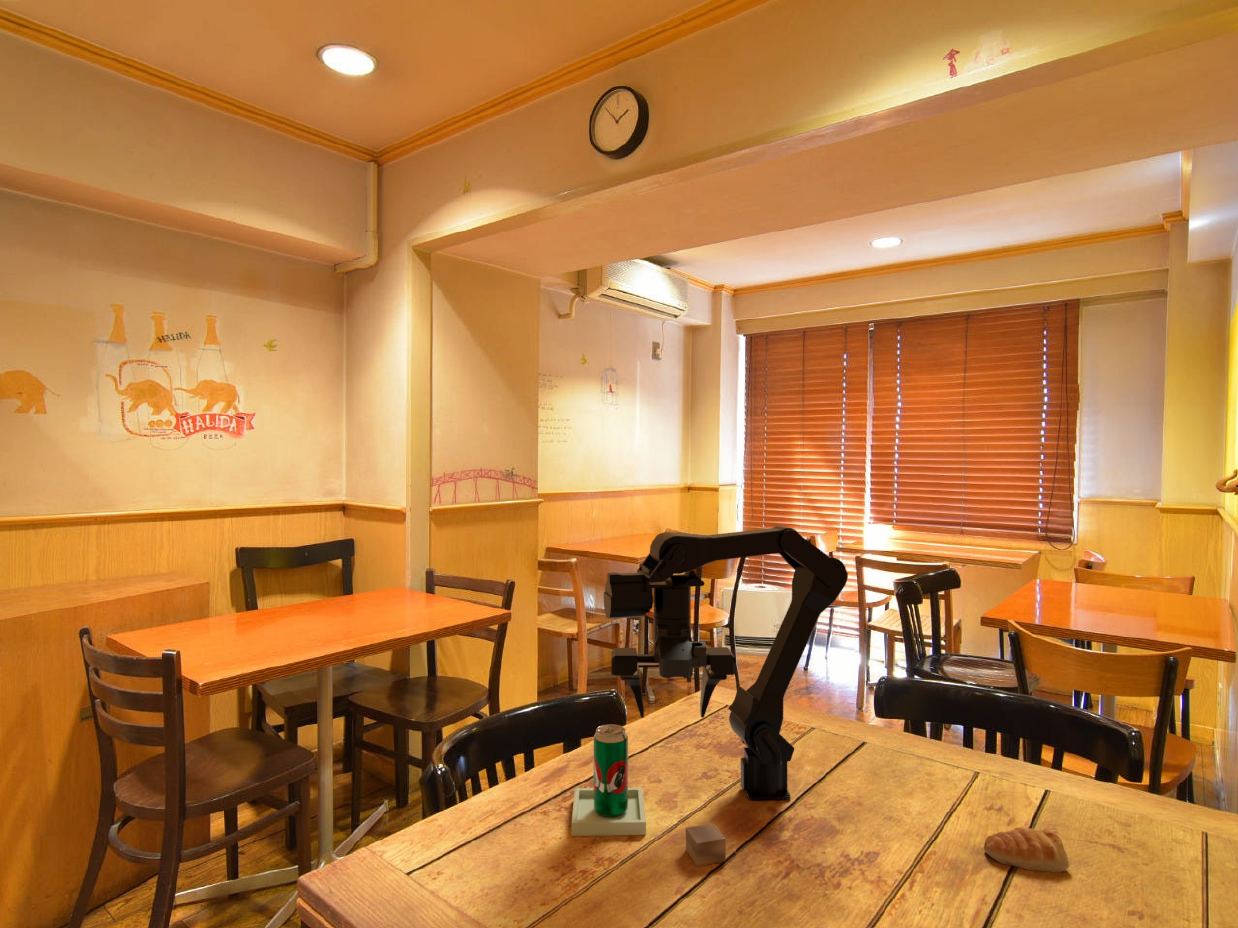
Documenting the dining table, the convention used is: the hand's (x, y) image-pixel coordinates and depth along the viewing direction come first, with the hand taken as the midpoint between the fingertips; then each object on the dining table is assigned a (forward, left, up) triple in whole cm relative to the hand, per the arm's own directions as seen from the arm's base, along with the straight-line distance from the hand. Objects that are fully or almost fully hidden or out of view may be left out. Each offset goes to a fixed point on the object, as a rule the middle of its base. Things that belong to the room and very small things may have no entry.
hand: (672, 716), depth 109 cm
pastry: (-45, +17, -14) cm, 50 cm away
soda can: (+9, +4, -12) cm, 16 cm away
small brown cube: (-3, +15, -13) cm, 20 cm away
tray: (+10, +5, -13) cm, 17 cm away
